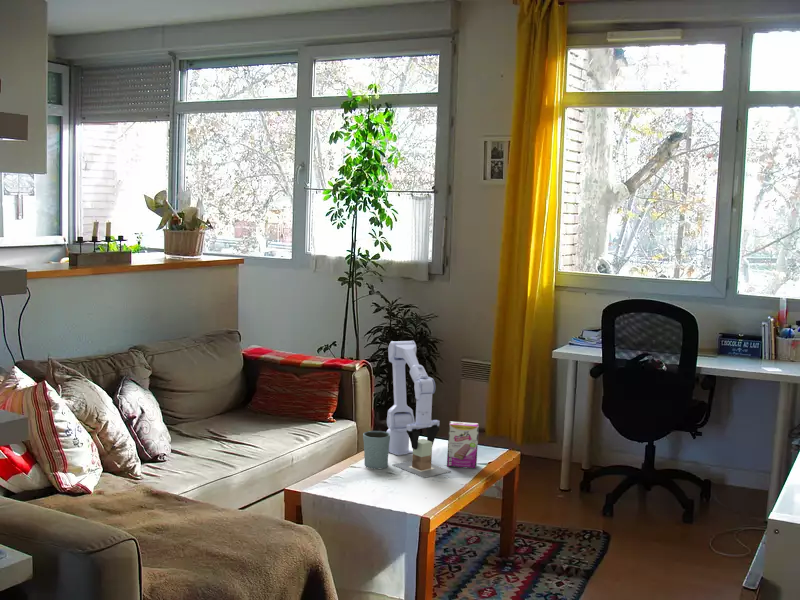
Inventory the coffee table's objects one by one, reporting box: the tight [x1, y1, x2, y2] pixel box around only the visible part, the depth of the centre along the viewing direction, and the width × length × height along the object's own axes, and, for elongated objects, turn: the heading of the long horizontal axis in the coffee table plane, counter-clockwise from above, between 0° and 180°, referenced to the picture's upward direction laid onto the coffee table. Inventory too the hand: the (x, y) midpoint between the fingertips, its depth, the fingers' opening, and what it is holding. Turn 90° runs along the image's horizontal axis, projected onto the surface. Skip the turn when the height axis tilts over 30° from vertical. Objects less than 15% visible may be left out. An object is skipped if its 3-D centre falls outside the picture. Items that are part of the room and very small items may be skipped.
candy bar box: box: [446, 420, 480, 469], centre depth 320 cm, size 11×5×16 cm, turn 84°
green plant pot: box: [362, 430, 390, 470], centre depth 317 cm, size 10×10×12 cm
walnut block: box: [411, 453, 433, 470], centre depth 315 cm, size 5×5×5 cm
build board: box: [392, 460, 452, 479], centre depth 315 cm, size 18×13×1 cm
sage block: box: [412, 438, 433, 457], centre depth 314 cm, size 5×5×5 cm
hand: (422, 447), depth 314 cm, fingers open, 7 cm apart
